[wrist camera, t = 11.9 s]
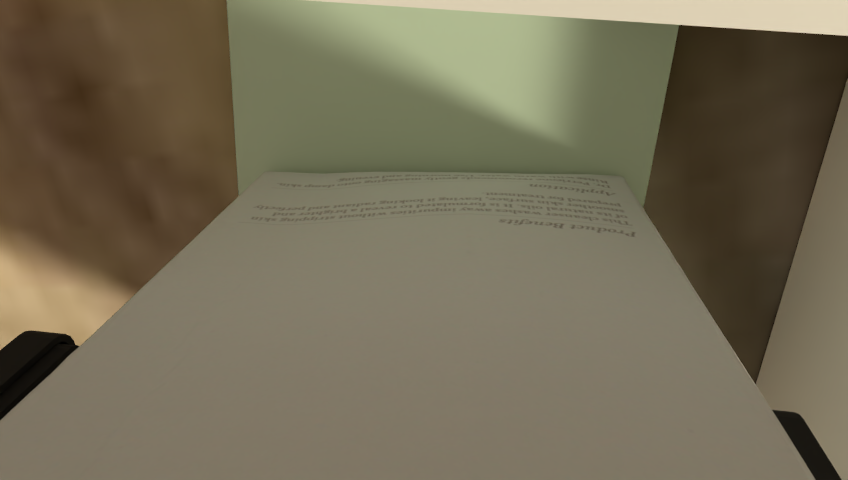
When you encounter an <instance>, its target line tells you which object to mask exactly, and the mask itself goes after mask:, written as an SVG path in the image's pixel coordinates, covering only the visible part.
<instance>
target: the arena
mask: <svg viewBox="0 0 848 480" xmlns="http://www.w3.org/2000/svg"><path fill="white" fill-rule="evenodd" d="M306 1H322V2H337V3H352V4H368V5H383V6H398V7H414V8H429V9H444V10H460V11H475V12H490V13H506V14H521V15H536V16H552V17H567V18H582V19H598V20H613V21H628V22H644V23H659V24H674V25H690V26H705V27H720V28H736V29H751V30H766V31H782V32H797V33H812V34H828V35H843V36H848V0H306ZM756 386H757V388H758V389H759V391H760V392H761V394H762V395H763V397H764V398H765V400H766V402H767V403H768V405H769V406H770V408H771V409H772V410H779V411H789V412H796V413H798V414H800V415H801V417H802V418H803V419H804V420H805V422H806V424H807V425H808V427H809V428H810V430H811V432H812V433H813V435H814V436H815V438H816V440H817V441H818V443H819V444H820V446H821V447H822V449H823V451H824V452H825V454H826V455H827V457H828V459H829V460H830V462H831V463H832V465H833V467H834V468H835V470H836V471H837V473H838V475H839V476H840V478H841V479H842V480H848V79H847V82H846V86H845V89H844V92H843V96H842V99H841V102H840V106H839V109H838V112H837V116H836V119H835V122H834V126H833V129H832V132H831V135H830V139H829V142H828V145H827V149H826V152H825V155H824V159H823V162H822V165H821V169H820V172H819V175H818V179H817V182H816V185H815V189H814V192H813V195H812V199H811V202H810V205H809V209H808V212H807V215H806V219H805V222H804V225H803V229H802V232H801V235H800V239H799V242H798V245H797V249H796V252H795V255H794V259H793V262H792V265H791V269H790V272H789V275H788V279H787V282H786V285H785V289H784V292H783V295H782V299H781V302H780V305H779V309H778V312H777V315H776V319H775V322H774V325H773V329H772V332H771V335H770V339H769V342H768V345H767V348H766V352H765V355H764V358H763V362H762V365H761V368H760V372H759V375H758V378H757V382H756Z"/></svg>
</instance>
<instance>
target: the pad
mask: <svg viewBox="0 0 848 480" xmlns="http://www.w3.org/2000/svg"><path fill="white" fill-rule="evenodd" d="M227 15H228V32H229V48H230V64H231V81H232V97H233V113H234V130H235V146H236V162H237V179H238V195H240V194H241V193H242V192H243V191H245V190H246V189H247V188H248V187H249V186H250V185H251V184H252V183H253V182H254V181H255V180H256V179H257V178H258V177H259V176H260V175H261V174H262V173H263V172H266V171H273V172H295V173H319V174H328V173H349V172H470V173H521V174H592V175H611V176H622V177H624V178H625V180H626V181H627V183H628V185H629V186H630V188H631V190H632V191H633V193H634V195H635V196H636V198H637V200H638V201H639V203H640V204H641V206H642V207H643V208H644V203H645V198H646V192H647V187H648V182H649V177H650V172H651V167H652V162H653V157H654V151H655V146H656V141H657V136H658V131H659V126H660V121H661V116H662V111H663V105H664V100H665V95H666V90H667V85H668V80H669V75H670V70H671V64H672V59H673V54H674V49H675V44H676V39H677V34H678V29H679V25H674V24H659V23H644V22H628V21H613V20H598V19H582V18H567V17H552V16H536V15H521V14H506V13H490V12H475V11H460V10H444V9H429V8H414V7H398V6H383V5H368V4H352V3H337V2H322V1H306V0H227Z"/></svg>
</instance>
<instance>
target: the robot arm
mask: <svg viewBox="0 0 848 480" xmlns="http://www.w3.org/2000/svg"><path fill="white" fill-rule="evenodd" d="M78 347H79V346H77V345H75V343H74V340H73V339H72V338H71V337H70V336H68V335H66V334H59V333H49V332H40V331H25V332H23V333H22V334H20V335H19V336H17V337H16V338H15V339H14V340H12V341H11V342H10V343H9V344H8V345H6V346H5V347H4V348H3V349H1V350H0V420H1V419H2V418H3V417H4V416H6V415H7V414H8V413H9V412H10V411H11V410H12V409H13V408H14V407H15V406H16V405H17V404H18V403H19V402H20V401H21V400H23V399H24V398H25V397H26V396H27V395H28V394H29V393H30V392H31V391H32V390H33V389H35V388H36V387H37V386H38V385H39V384H40V383H41V382H42V381H43V380H44V379H45V378H47V377H48V376H49V375H50V374H51V373H52V372H53V371H54V370H55V369H56V368H57V367H58V366H59V365H60V364H61V363H62V362H63V361H64V360H65V359H66V358H67V357H68V356H69V355H70V354H71V353H73V352H74V351H75V350H76V349H77V348H78ZM772 411H773V412H774V414H775V415H776V417H777V419H778V420H779V422H780V423H781V425H782V427H783V428H784V430H785V431H786V433H787V435H788V436H789V438H790V440H791V441H792V443H793V444H794V446H795V448H796V449H797V451H798V452H799V454H800V456H801V457H802V459H803V460H804V462H805V464H806V465H807V467H808V468H809V470H810V472H811V473H812V475H813V476H814V478H815V480H842V479H841V478H840V476H839V475H838V473H837V471H836V470H835V468H834V467H833V465H832V463H831V462H830V460H829V459H828V457H827V455H826V454H825V452H824V451H823V449H822V447H821V446H820V444H819V443H818V441H817V440H816V438H815V436H814V435H813V433H812V432H811V430H810V428H809V427H808V425H807V424H806V422H805V420H804V419H803V418H802V417H801V415H800V414H798V413H796V412H789V411H779V410H772Z"/></svg>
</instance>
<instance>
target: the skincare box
mask: <svg viewBox="0 0 848 480" xmlns="http://www.w3.org/2000/svg"><path fill="white" fill-rule="evenodd" d="M0 480H815V478H814V476H813V475H812V473H811V472H810V470H809V468H808V467H807V465H806V464H805V462H804V460H803V459H802V457H801V456H800V454H799V452H798V451H797V449H796V448H795V446H794V444H793V443H792V441H791V440H790V438H789V436H788V435H787V433H786V431H785V430H784V428H783V427H782V425H781V423H780V422H779V420H778V419H777V417H776V415H775V414H774V412H773V411H772V409H771V408H770V406H769V405H768V403H767V402H766V400H765V398H764V397H763V395H762V394H761V392H760V391H759V389H758V388H757V386H756V384H755V383H754V381H753V380H752V378H751V377H750V375H749V374H748V372H747V370H746V369H745V367H744V366H743V364H742V363H741V361H740V360H739V358H738V356H737V355H736V353H735V352H734V350H733V349H732V347H731V346H730V344H729V342H728V341H727V339H726V338H725V336H724V335H723V333H722V332H721V330H720V328H719V327H718V325H717V324H716V322H715V321H714V319H713V318H712V316H711V314H710V313H709V311H708V310H707V308H706V307H705V305H704V303H703V302H702V300H701V299H700V297H699V296H698V294H697V293H696V291H695V289H694V288H693V286H692V285H691V283H690V281H689V280H688V278H687V276H686V275H685V273H684V271H683V270H682V268H681V267H680V265H679V264H678V263H677V261H676V259H675V258H674V256H673V254H672V253H671V251H670V249H669V248H668V246H667V245H666V243H665V242H664V240H663V239H662V237H661V236H660V234H659V232H658V231H657V229H656V228H655V226H654V224H653V223H652V221H651V220H650V218H649V217H648V215H647V214H646V212H645V211H644V209H643V207H642V206H641V204H640V203H639V201H638V200H637V198H636V196H635V195H634V193H633V191H632V190H631V188H630V186H629V185H628V183H627V181H626V180H625V178H624V177H622V176H611V175H592V174H521V173H470V172H349V173H328V174H319V173H295V172H273V171H266V172H263V173H262V174H261V175H260V176H259V177H258V178H257V179H256V180H255V181H254V182H253V183H252V184H251V185H250V186H249V187H248V188H247V189H246V190H245V191H243V192H242V193H241V194H240V195H239V196H238V197H237V198H236V199H235V200H234V201H233V202H232V203H231V204H230V205H229V206H228V207H227V208H225V209H224V210H223V211H222V212H221V213H220V214H219V215H218V216H217V217H216V218H215V219H214V220H213V221H212V222H211V223H210V224H208V225H207V226H206V227H205V228H204V229H203V230H202V231H201V232H200V233H199V234H198V235H197V236H196V237H195V238H194V239H193V240H192V241H191V242H190V243H189V244H188V245H187V246H186V247H184V248H183V249H182V250H181V251H180V252H179V253H178V254H177V255H176V256H175V257H174V258H173V259H172V260H170V261H169V262H168V263H167V264H166V265H165V266H164V267H163V268H162V269H161V270H160V271H159V272H158V273H157V274H156V275H155V276H154V277H153V278H152V279H150V280H149V281H148V282H147V283H146V284H145V285H144V286H143V287H142V288H141V289H140V290H139V291H138V292H137V293H136V294H135V295H134V296H133V297H132V298H131V299H130V300H129V301H128V302H126V303H125V304H124V305H123V306H122V307H121V308H120V309H119V310H118V311H117V312H116V313H115V314H114V315H113V316H112V317H111V318H110V319H109V320H108V321H106V322H105V323H104V324H103V325H102V326H101V327H100V328H99V329H98V330H97V331H96V332H95V333H94V334H93V335H92V336H91V337H89V338H88V339H87V340H86V341H85V342H84V343H83V344H82V345H81V346H79V347H78V348H77V349H76V350H75V351H74V352H73V353H71V354H70V355H69V356H68V357H67V358H66V359H65V360H64V361H63V362H62V363H61V364H60V365H59V366H58V367H57V368H56V369H55V370H54V371H53V372H52V373H51V374H50V375H49V376H48V377H47V378H45V379H44V380H43V381H42V382H41V383H40V384H39V385H38V386H37V387H36V388H35V389H33V390H32V391H31V392H30V393H29V394H28V395H27V396H26V397H25V398H24V399H23V400H21V401H20V402H19V403H18V404H17V405H16V406H15V407H14V408H13V409H12V410H11V411H10V412H9V413H8V414H7V415H6V416H4V417H3V418H2V419H1V420H0Z"/></svg>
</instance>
